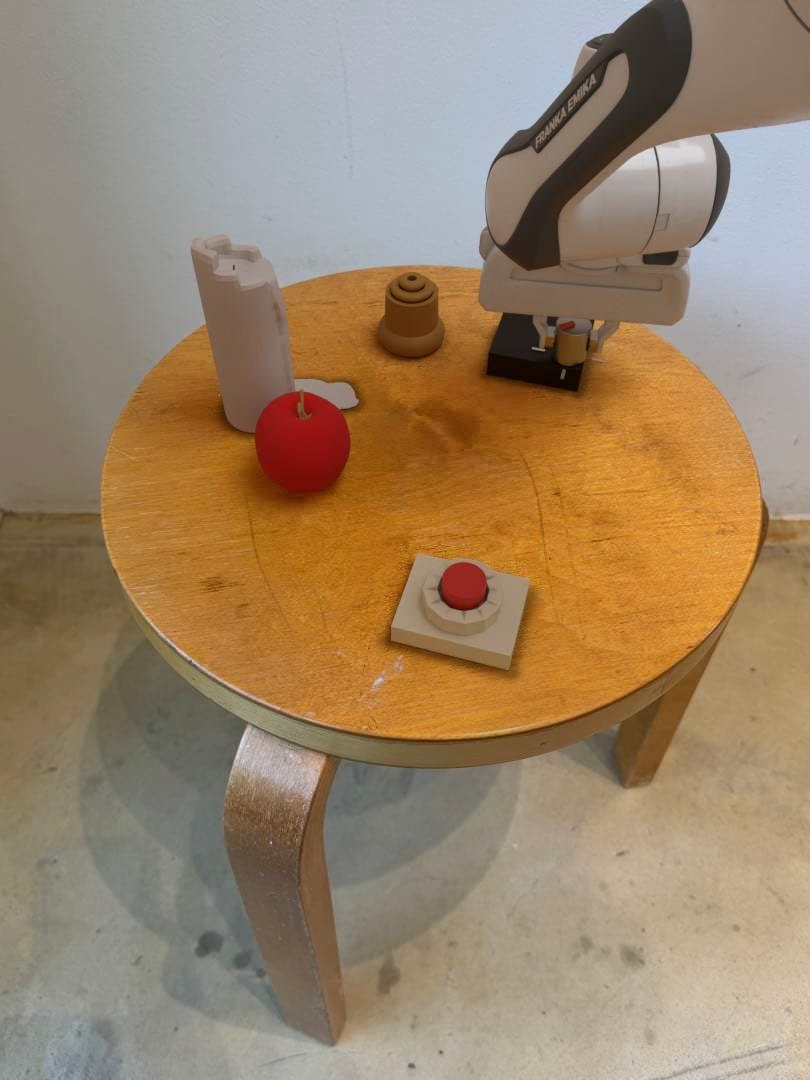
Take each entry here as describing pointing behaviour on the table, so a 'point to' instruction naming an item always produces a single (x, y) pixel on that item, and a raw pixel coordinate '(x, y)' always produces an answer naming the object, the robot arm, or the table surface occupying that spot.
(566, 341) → the dial knob
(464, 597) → the power button
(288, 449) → the fruit
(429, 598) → the switch box
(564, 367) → the dial panel
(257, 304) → the candle
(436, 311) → the ornamental finial
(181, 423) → the table surface
